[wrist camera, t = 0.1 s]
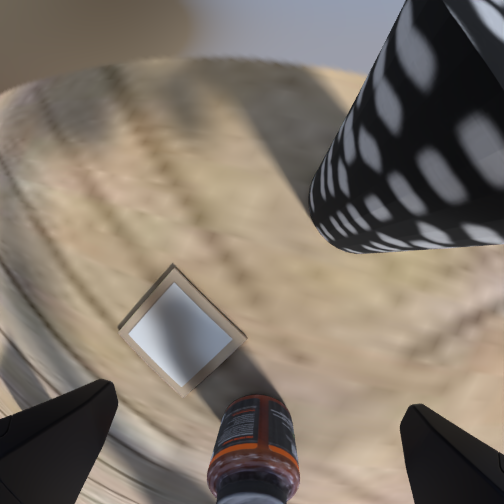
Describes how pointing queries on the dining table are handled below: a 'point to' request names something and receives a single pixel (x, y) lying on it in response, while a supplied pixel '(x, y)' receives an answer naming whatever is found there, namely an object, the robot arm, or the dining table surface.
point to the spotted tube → (422, 138)
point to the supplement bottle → (254, 454)
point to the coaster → (181, 334)
